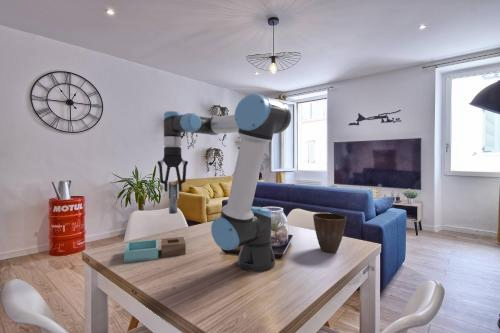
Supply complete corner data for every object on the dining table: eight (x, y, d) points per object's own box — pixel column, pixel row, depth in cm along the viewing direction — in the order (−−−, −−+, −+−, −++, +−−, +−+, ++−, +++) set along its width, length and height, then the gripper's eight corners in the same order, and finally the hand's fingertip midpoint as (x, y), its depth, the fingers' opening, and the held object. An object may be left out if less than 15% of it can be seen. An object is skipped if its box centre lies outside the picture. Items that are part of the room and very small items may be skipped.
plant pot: (316, 243, 132) (316, 211, 131) (347, 247, 125) (347, 214, 125) (309, 252, 118) (310, 217, 118) (344, 258, 112) (344, 221, 111)
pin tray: (158, 258, 110) (158, 248, 110) (124, 262, 105) (124, 252, 105) (158, 248, 122) (157, 239, 122) (127, 252, 118) (127, 242, 118)
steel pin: (177, 213, 116) (177, 182, 116) (169, 214, 115) (169, 182, 115) (176, 211, 120) (176, 181, 119) (168, 212, 119) (168, 181, 118)
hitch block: (185, 254, 115) (185, 243, 115) (161, 257, 112) (161, 245, 112) (183, 247, 124) (183, 236, 124) (161, 249, 121) (161, 238, 121)
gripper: (190, 147, 123) (190, 196, 124) (153, 146, 117) (153, 198, 118) (192, 146, 116) (192, 198, 117) (152, 145, 110) (153, 200, 111)
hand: (173, 198), depth 117 cm, fingers closed on steel pin, 3 cm apart
